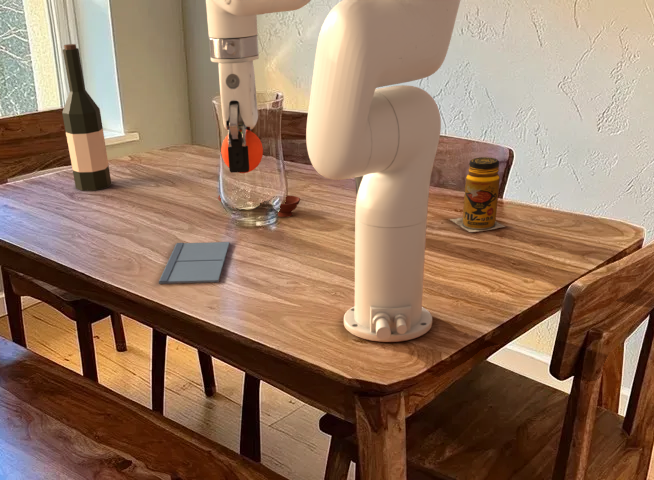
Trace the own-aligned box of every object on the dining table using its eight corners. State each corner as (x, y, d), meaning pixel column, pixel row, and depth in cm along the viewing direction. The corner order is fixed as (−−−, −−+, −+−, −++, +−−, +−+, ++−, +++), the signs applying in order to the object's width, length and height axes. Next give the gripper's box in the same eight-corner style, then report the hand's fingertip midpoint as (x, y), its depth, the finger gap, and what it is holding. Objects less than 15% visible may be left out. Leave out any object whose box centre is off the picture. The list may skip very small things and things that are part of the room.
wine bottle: (74, 183, 188) (48, 44, 172) (109, 179, 190) (87, 41, 173) (77, 192, 181) (51, 48, 165) (113, 188, 183) (91, 45, 167)
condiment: (470, 233, 145) (476, 166, 138) (448, 220, 152) (453, 156, 145) (505, 228, 146) (513, 161, 140) (482, 215, 153) (488, 151, 147)
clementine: (258, 179, 128) (255, 134, 124) (217, 179, 129) (213, 134, 126) (267, 167, 135) (265, 123, 131) (228, 167, 136) (225, 123, 132)
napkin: (218, 282, 130) (218, 279, 130) (158, 283, 131) (158, 281, 130) (229, 243, 146) (229, 241, 146) (176, 245, 147) (176, 242, 146)
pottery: (245, 195, 173) (244, 174, 170) (315, 210, 161) (315, 188, 159) (207, 208, 166) (205, 187, 163) (277, 225, 154) (276, 202, 152)
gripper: (253, 55, 114) (260, 178, 124) (262, 41, 129) (268, 152, 138) (202, 57, 115) (213, 179, 124) (217, 43, 130) (225, 153, 139)
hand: (242, 164), depth 131 cm, fingers closed on clementine, 8 cm apart
